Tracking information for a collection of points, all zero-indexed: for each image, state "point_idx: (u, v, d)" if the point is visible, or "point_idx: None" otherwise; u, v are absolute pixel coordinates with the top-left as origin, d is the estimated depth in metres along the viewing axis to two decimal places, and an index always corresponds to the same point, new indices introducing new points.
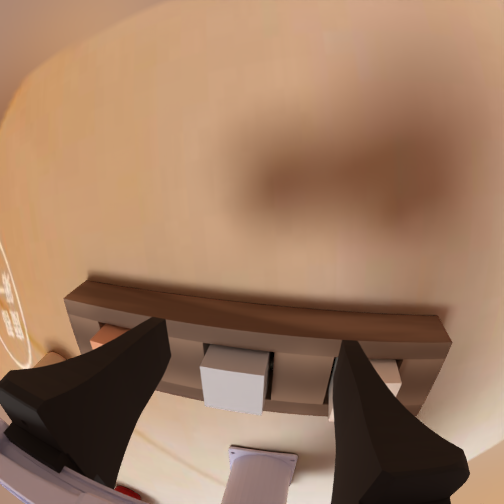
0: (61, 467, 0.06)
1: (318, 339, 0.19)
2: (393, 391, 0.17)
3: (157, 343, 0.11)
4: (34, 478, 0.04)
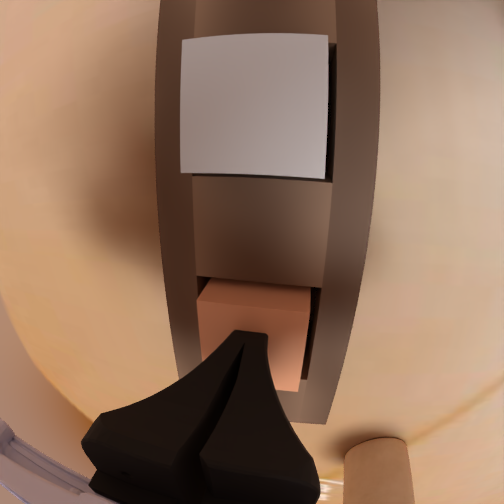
0: None
1: None
2: None
3: None
4: (34, 478, 0.04)
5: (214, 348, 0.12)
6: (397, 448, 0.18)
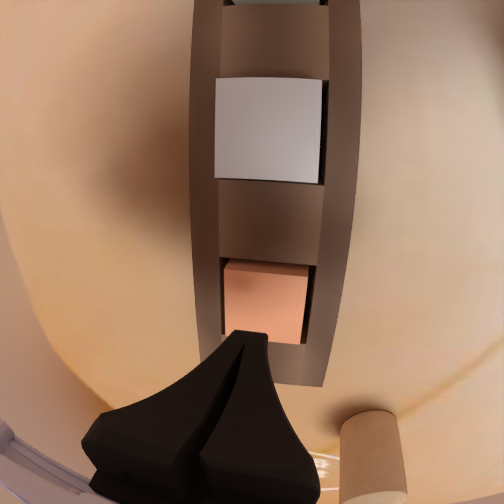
0: None
1: (194, 30, 0.12)
2: None
3: None
4: (34, 478, 0.04)
5: (235, 308, 0.16)
6: (387, 419, 0.22)
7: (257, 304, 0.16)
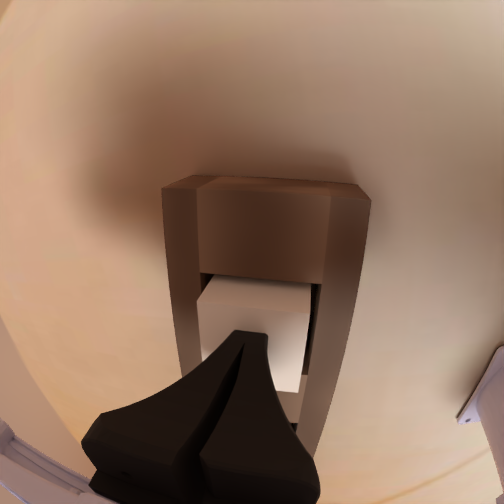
0: None
1: (183, 375, 0.15)
2: (217, 311, 0.12)
3: None
4: (34, 478, 0.04)
5: None
6: None
7: None
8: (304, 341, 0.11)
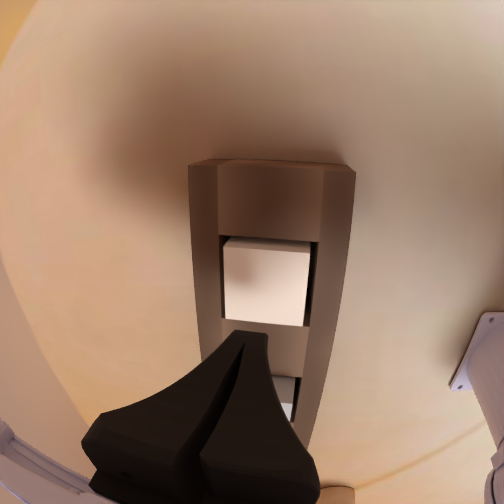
0: None
1: (199, 332, 0.18)
2: (239, 254, 0.15)
3: None
4: (34, 478, 0.04)
5: None
6: (346, 493, 0.28)
7: None
8: (306, 277, 0.15)
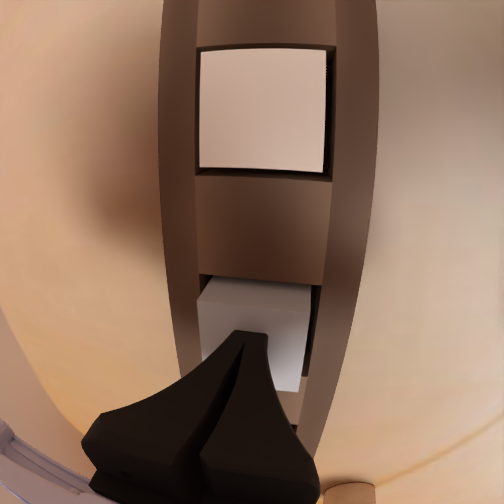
0: None
1: (162, 208, 0.12)
2: (222, 59, 0.09)
3: None
4: (34, 478, 0.04)
5: None
6: (365, 491, 0.22)
7: None
8: (323, 85, 0.09)
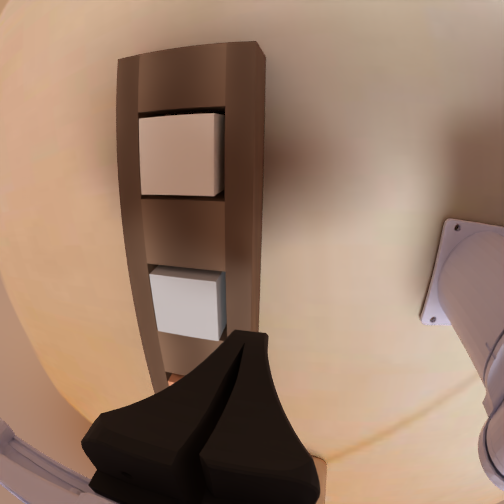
0: None
1: (122, 219, 0.18)
2: (151, 123, 0.15)
3: None
4: (34, 478, 0.04)
5: None
6: None
7: None
8: (212, 138, 0.14)
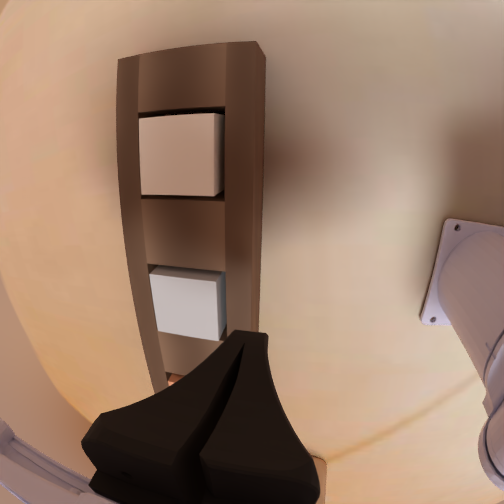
0: None
1: (123, 219, 0.18)
2: (151, 123, 0.15)
3: None
4: (34, 478, 0.04)
5: None
6: None
7: None
8: (212, 138, 0.14)
